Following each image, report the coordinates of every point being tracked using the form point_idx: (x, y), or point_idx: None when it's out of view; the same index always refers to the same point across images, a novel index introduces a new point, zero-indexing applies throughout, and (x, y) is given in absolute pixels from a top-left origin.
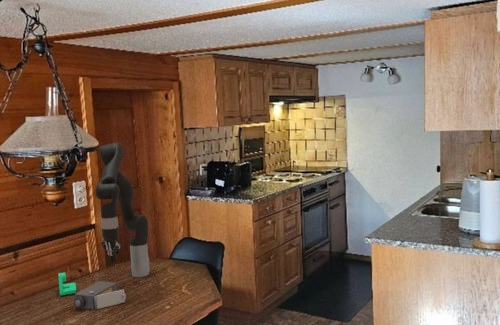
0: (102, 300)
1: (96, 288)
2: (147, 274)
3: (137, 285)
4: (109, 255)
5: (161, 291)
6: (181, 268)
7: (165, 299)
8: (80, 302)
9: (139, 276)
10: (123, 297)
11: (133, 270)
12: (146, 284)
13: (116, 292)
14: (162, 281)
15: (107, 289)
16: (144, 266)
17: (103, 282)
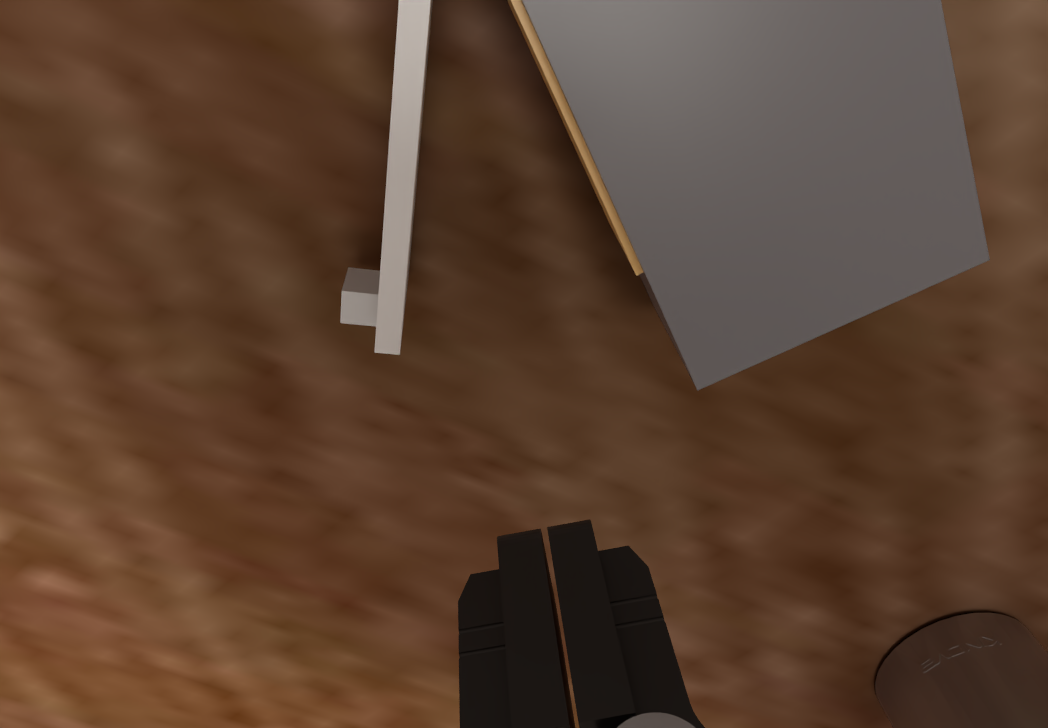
0: None
1: (752, 69)
2: (880, 701)
3: (741, 554)
4: (635, 725)
5: (411, 627)
6: None
7: (182, 576)
8: None
9: (906, 646)
10: (346, 280)
11: (999, 668)
12: (689, 611)
13: (383, 239)
14: None
15: (609, 198)
16: None
17: (887, 271)
